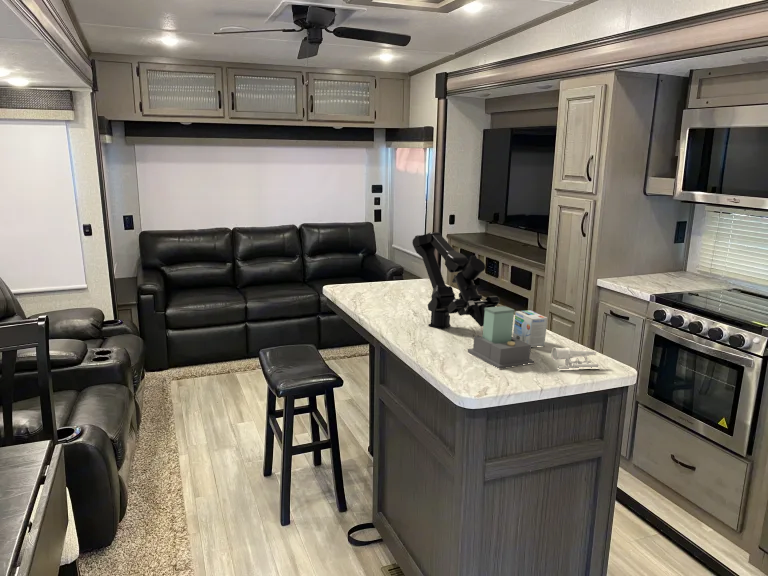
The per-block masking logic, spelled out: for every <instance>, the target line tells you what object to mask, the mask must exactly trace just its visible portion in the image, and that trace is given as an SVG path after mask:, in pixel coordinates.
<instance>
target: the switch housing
mask: <svg viewBox="0 0 768 576" xmlns="http://www.w3.org/2000/svg"><path fill="white" fill-rule="evenodd" d="M472 347H473V348H472ZM472 347H471V348H467V353H469V354H471V355H472V356H475V357H476V358H478V359H480V360H482V361H484V362H485V363H487V364H489V365H491V366H492V365H493V367H494V366H495V367H494V368H496V367H497V368H496V369H498V368H503V369H507V368H506V367H510V368H513V367H512V366H516V367H519V366H518V365H522V366H524V365H523V364H528V363H534V364H535V360H533V359H531V357H530V356H531V349H532V348H531V345H529V344H527V343H525V342H523V341H520V340H518V339H516V338H514V337H513V336H512V338H511V341H508V342H505V343H498V344H495V343H493V342H491V341H489V340H487V339H485V338H483V336H481V335H474V336H473V346H472Z"/></svg>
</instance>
